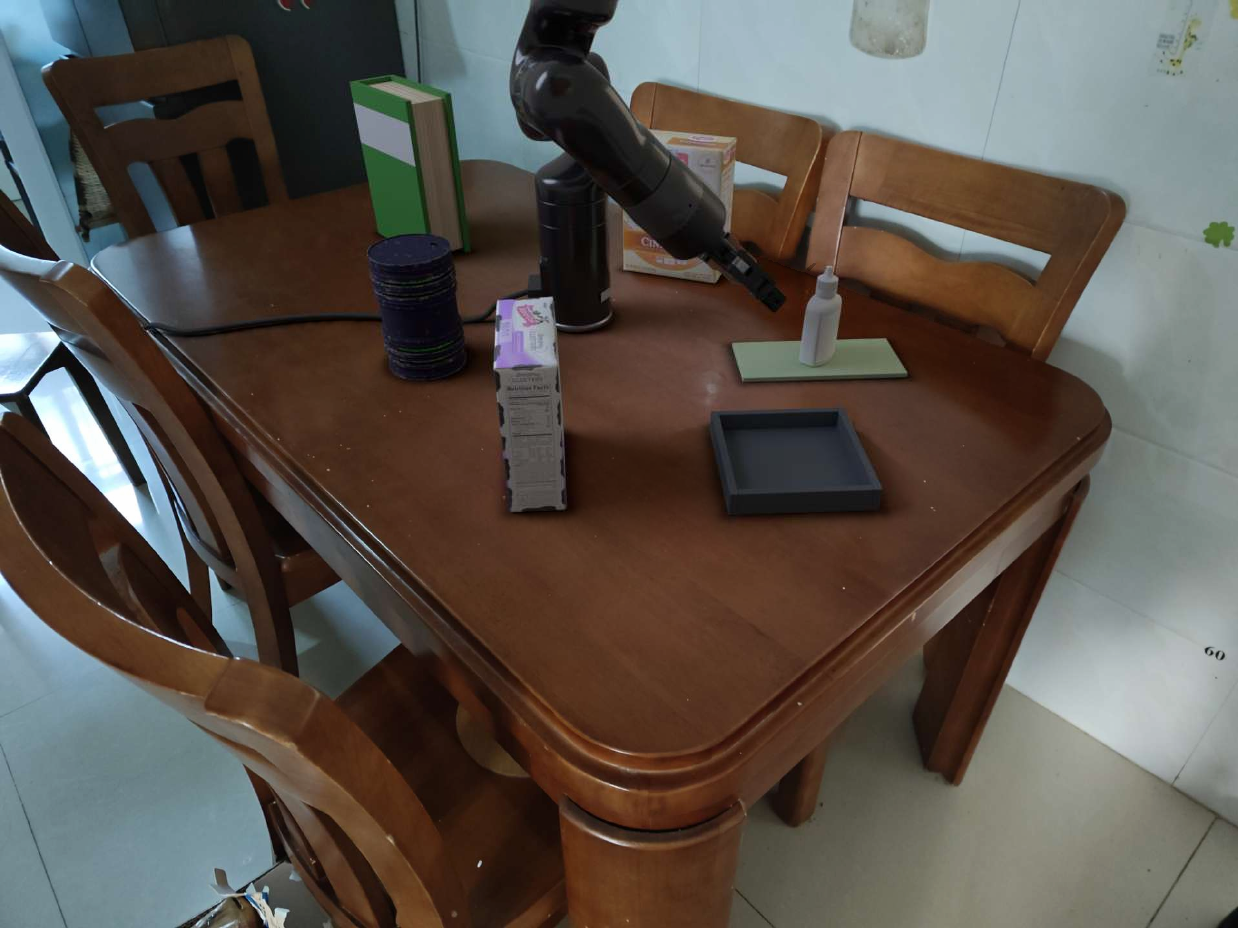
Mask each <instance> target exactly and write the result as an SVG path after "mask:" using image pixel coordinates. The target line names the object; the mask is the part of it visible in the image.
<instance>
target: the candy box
mask: <svg viewBox="0 0 1238 928" xmlns="http://www.w3.org/2000/svg"><path fill="white" fill-rule="evenodd" d="M496 301H497V309H496V310H495V311H496V312H495V330H494V351H493V376H494V385H495V393H496V403H497V409H498V410H497V411H498V421H499V422H498V423H499V428H500V437H501V448H502V455H503V463H504V473H505V481H506V487H507V488H506V489H507V490H506V491H507V499H508V507H509V513H524V512H543V511H544V512H545V511H546V512H548V511H565V509H566V508H567V506H568V505H567V485H566V484H567V483H566V481H567V480H566V479H567V478H566V453H565V432H564V431H565V430H564V412H563V396H562V383H561V382H562V381H561V369H560V367H561V366H560V353H559V343H558V341H559V340H558V330H557V329H556V320H555V310H554V301H553V297H545V298H528V297H526V298H517V299H512V300H500V299H498V300H496Z"/></svg>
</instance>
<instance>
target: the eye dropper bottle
mask: <svg viewBox="0 0 1238 928" xmlns="http://www.w3.org/2000/svg"><path fill="white" fill-rule="evenodd" d="M838 286H839V277H838V276H837V275H835V274H834V266H832V265H827V266H826V267H825V270H824V272H823V273H822V274H820V275H818V276H817V278H816V286H815V294H814V295H812V296H811V297H810V299H809V300H808V302H807V304H806V307H805V312H804V319H803V327H802V333H801V340H800V341H801V348H800V356H799V361H800V363H802V364H805V365H808V366H811V367H817V366H820V365H823V364H825V363H826V362H828V361H829V360H830V359H831V358H832V356H833V354H834V351H835V345H836V340H837V339H838V338H837V337H838V331H839V326H840V319H841V312H842V304H843V299H842V297H841V295H840V294H839V293H837V292H838Z"/></svg>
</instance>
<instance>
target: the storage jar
mask: <svg viewBox="0 0 1238 928" xmlns="http://www.w3.org/2000/svg"><path fill="white" fill-rule="evenodd" d="M452 252H453V251H452V250H451V244H450V242H449V241H448V240H447V239H446V238H444V237H441V236H438V235H433V234H424V233H413V234H403V235H397V236H392V237H389V238H386V237H385V238H383V239H380V240H378V241H376V242H374V243H372V244H371V245H370V246H369V247H368V248H367V251H366V255H367V261H368V264H369V265H368V266H369V271H370V273H369V277H370V282H371V285H372V288H373V291H372V293H373V295H374V297H375V300H376V301H377V302H378V305H379V311H380V314H381V316H382V320H381V321H382V324H381V337H382V338H383V345H384V350H385V352H386V355H387V358H388V360H389V361H388V365H389V369H390V371H391V372H392V373H393V374H394V375H395V376H397V377H399V378H402V379H404V380H410V381H419V382H420V381H431V380H433V381H434V380H438V379H443V378H445V377H448V376H451V375H453V374H454V373H456V372H458V371H459V370H461V369H462V368H463V367H464V366H465V364H466V362H467V352H466V350H465V349H466V344H465V341H466V337H465V331H464V330H465V329H464V324H463V321H462V319H463V318H462V316H461V314H459V307H458V299H457V291H458V280H457V272H456V265H455V262H454V258H453V255H452Z"/></svg>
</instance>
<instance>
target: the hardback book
mask: <svg viewBox="0 0 1238 928" xmlns="http://www.w3.org/2000/svg"><path fill="white" fill-rule="evenodd" d="M349 86H350V91H351V97H352V102H353V107H354V112H355V113H354V114H355V117H356V123H357V129H358V132H359V133H358V134H359V140H360V145H361V148H362V154H363V160H364V164H365V170H366V175H367V181H368V185H369V186H368V187H369V190H370V197H371V202H372V206H373V211H374V217H375V221H376V222H375V223H376V228H377V233H378V234H379V235H381V236H383V237H385V238H389V237H392V236H397V235H403V234H413V233H424V234H433V235H438V236H441V237H444V238H446V239H447V240H448V241H449V242H450V244H451V250H452V252H453V251H457V250H460V251H462V252H464V253H465V254H467V253H470V252H471V251H472V249H471V243H470V235H469V228H468V219H467V212H466V202H465V196H464V188H463V179H462V171H461V163H460V156H459V148H458V140H457V139H458V138H457V132H456V123H455V114H454V108H453V107H454V106H453V100H452V99H453V98H452V92H448V91H445V90H442V89H439V88H436V87H433V86H429V85H426V84H424V83H420V82H417V81H414V80H411V79H408V78H405V77H402V76H399V75H395V74H387V75H382V76H376V77H370V78H365V79H364V78H363V79H358V80H352V81H351V80H350V81H349Z"/></svg>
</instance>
